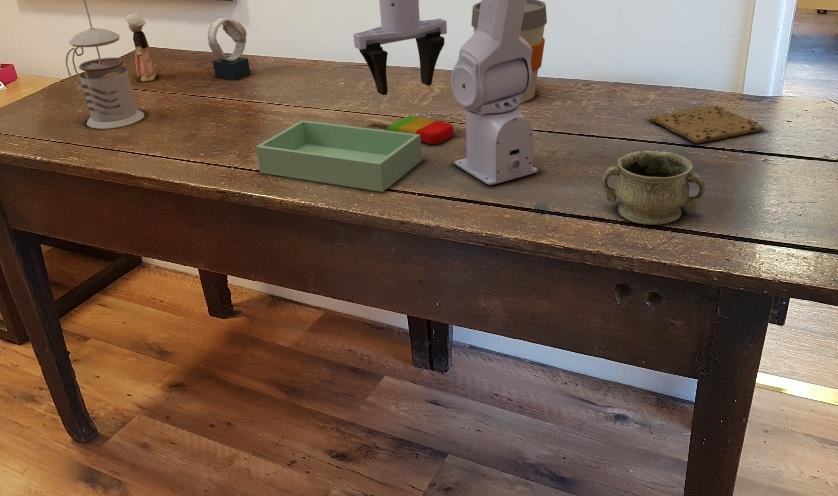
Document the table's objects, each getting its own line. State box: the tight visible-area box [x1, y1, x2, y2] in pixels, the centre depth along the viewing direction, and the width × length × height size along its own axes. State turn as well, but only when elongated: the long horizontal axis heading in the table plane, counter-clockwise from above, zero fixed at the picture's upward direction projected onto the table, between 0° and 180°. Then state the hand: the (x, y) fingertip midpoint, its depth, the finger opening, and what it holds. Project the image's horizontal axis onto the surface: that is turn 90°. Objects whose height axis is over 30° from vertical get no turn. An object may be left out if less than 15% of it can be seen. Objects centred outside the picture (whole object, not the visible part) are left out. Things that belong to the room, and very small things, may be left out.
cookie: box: [649, 104, 764, 144], centre depth 121 cm, size 12×12×1 cm
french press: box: [65, 0, 145, 129], centre depth 134 cm, size 10×12×25 cm
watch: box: [207, 17, 252, 81], centre depth 157 cm, size 6×8×11 cm
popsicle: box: [369, 115, 454, 145], centre depth 126 cm, size 6×15×2 cm, turn 53°
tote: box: [255, 119, 423, 193], centre depth 114 cm, size 20×12×4 cm, turn 63°
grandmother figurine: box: [126, 13, 157, 82], centre depth 158 cm, size 8×4×13 cm, turn 17°
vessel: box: [601, 150, 706, 226], centre depth 96 cm, size 12×9×6 cm
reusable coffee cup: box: [470, 0, 548, 103], centre depth 135 cm, size 13×13×15 cm
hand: (404, 88), depth 123 cm, fingers open, 7 cm apart
